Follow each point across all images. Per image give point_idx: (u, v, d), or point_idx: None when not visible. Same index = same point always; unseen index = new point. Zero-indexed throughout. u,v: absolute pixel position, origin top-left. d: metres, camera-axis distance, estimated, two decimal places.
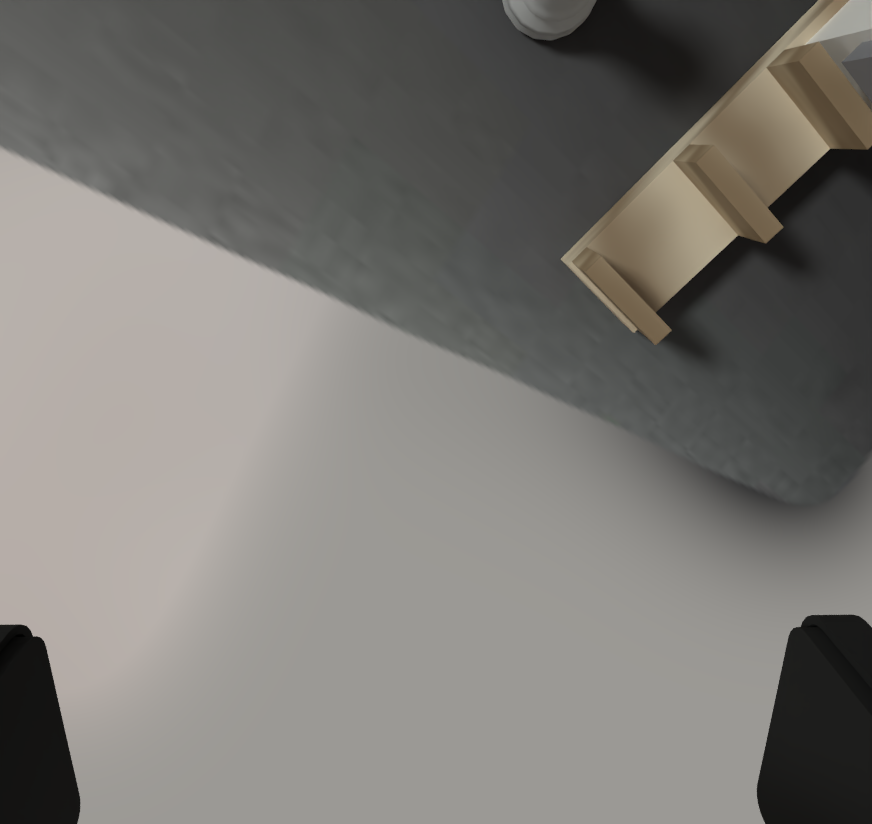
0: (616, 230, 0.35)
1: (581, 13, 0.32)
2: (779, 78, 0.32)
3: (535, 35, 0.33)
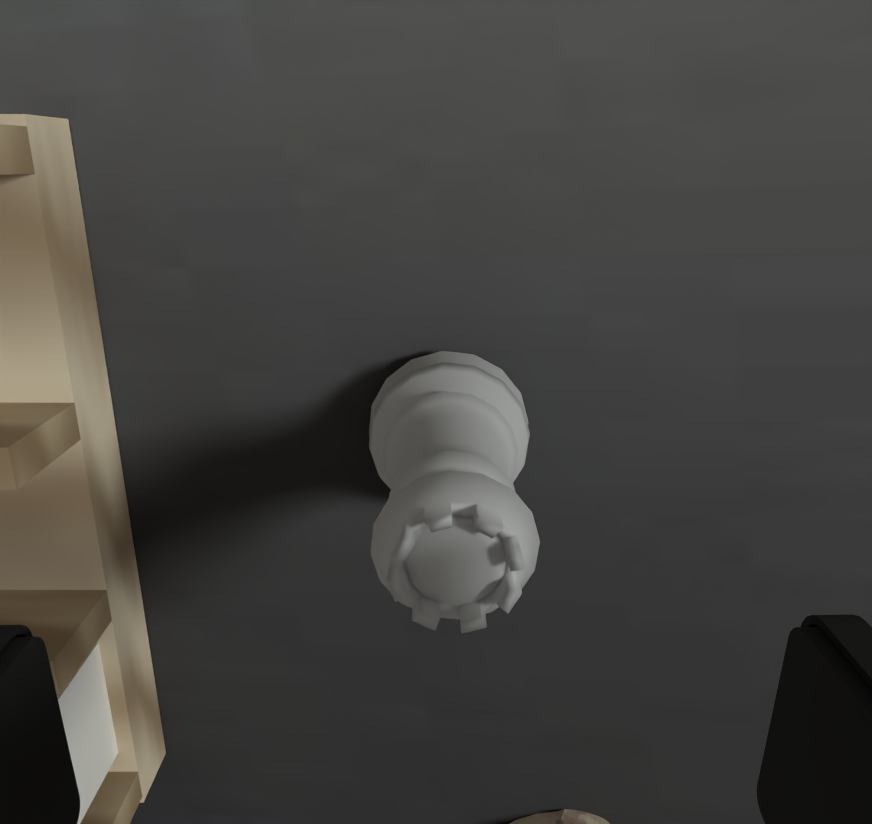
0: (26, 242, 0.17)
1: (379, 445, 0.19)
2: (75, 597, 0.20)
3: (411, 365, 0.19)
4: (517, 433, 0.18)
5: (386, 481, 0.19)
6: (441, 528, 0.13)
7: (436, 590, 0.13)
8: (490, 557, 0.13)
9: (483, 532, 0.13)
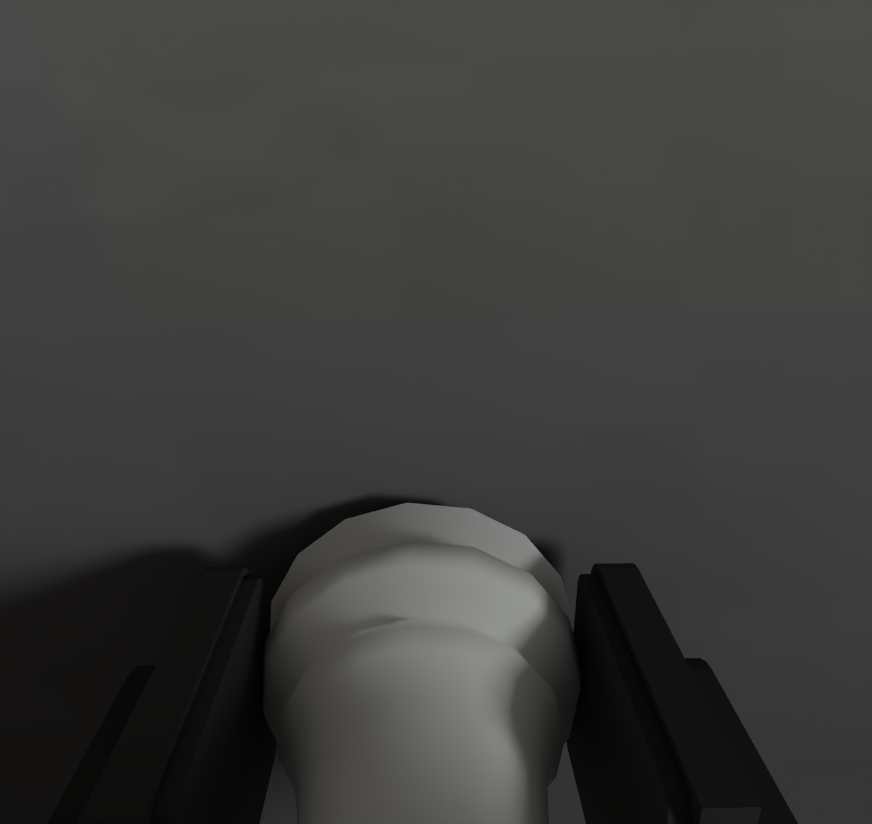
0: None
1: (277, 711, 0.09)
2: None
3: (346, 532, 0.10)
4: (561, 686, 0.09)
5: None
6: None
7: None
8: None
9: None
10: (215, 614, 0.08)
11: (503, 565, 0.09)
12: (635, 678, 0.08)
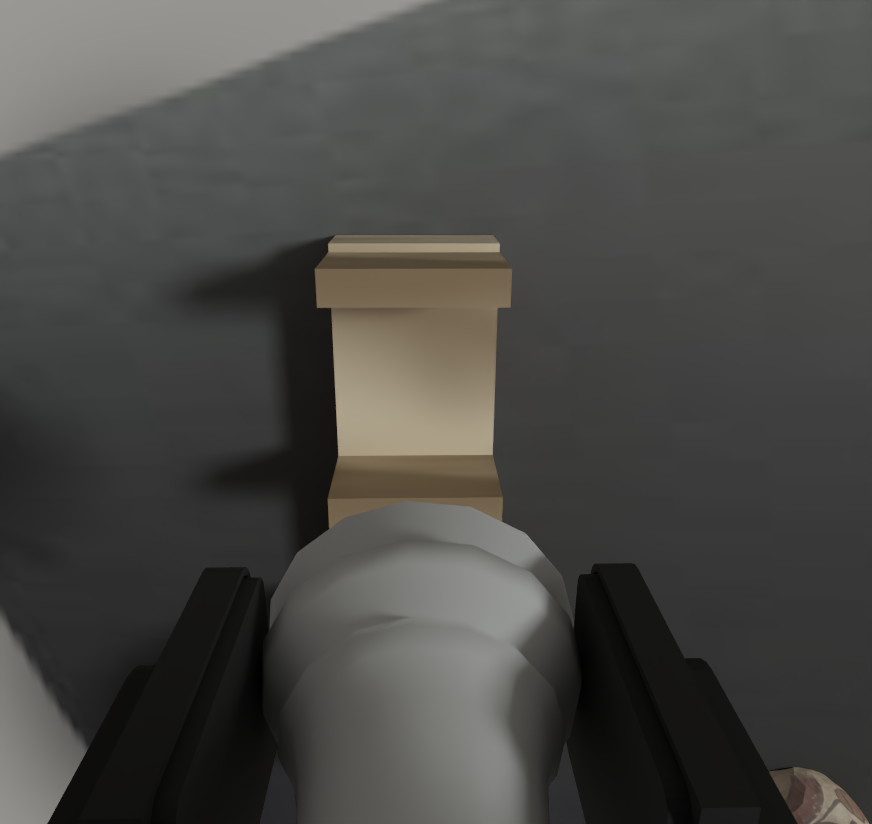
0: (480, 336, 0.22)
1: (276, 710, 0.09)
2: None
3: (345, 530, 0.10)
4: (562, 685, 0.09)
5: None
6: None
7: None
8: None
9: None
10: (215, 614, 0.08)
11: (503, 563, 0.09)
12: (635, 678, 0.08)
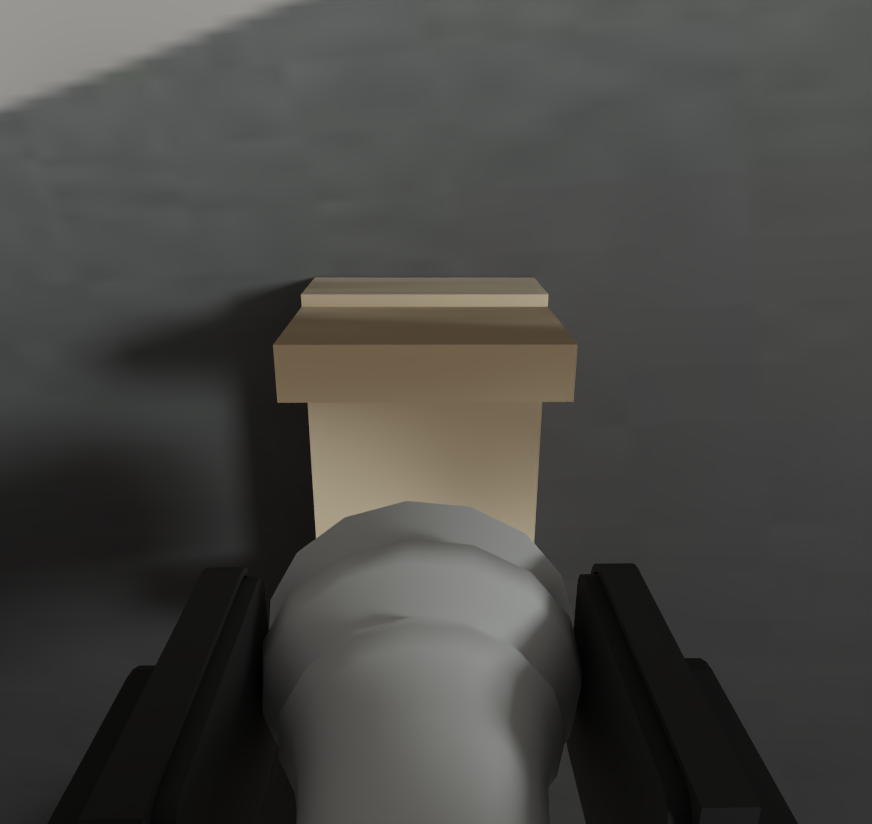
0: (518, 422, 0.16)
1: (276, 711, 0.09)
2: None
3: (345, 530, 0.10)
4: (562, 685, 0.09)
5: None
6: None
7: None
8: None
9: None
10: (215, 614, 0.08)
11: (503, 563, 0.09)
12: (635, 678, 0.08)
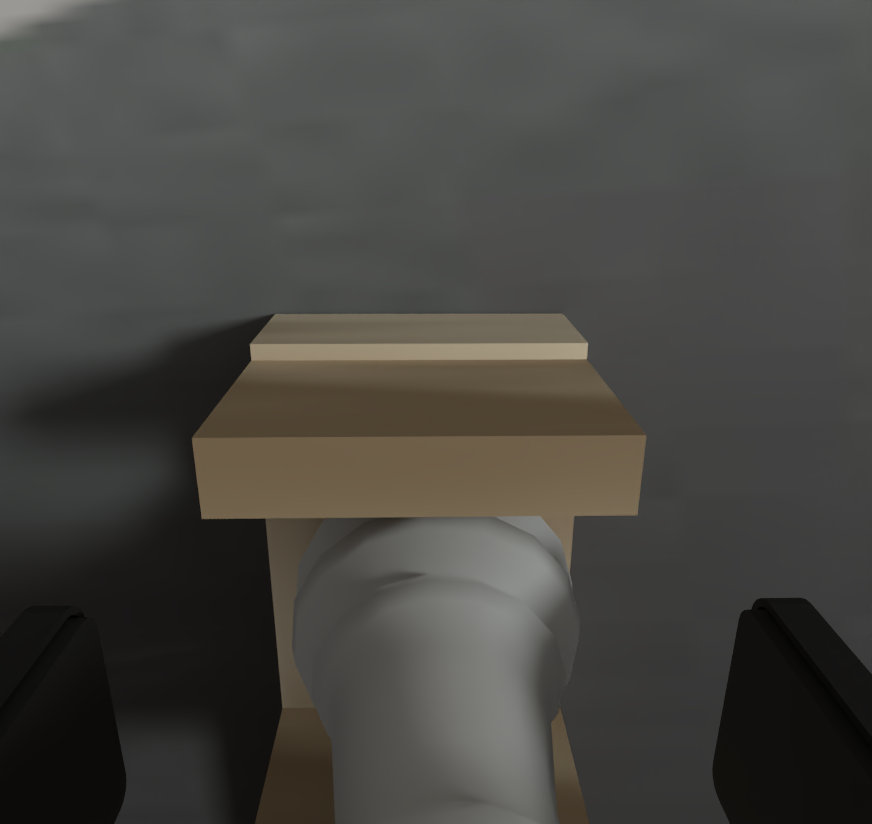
0: None
1: (308, 660, 0.10)
2: None
3: None
4: (562, 634, 0.10)
5: None
6: None
7: None
8: None
9: None
10: (17, 663, 0.08)
11: (509, 527, 0.10)
12: (854, 735, 0.07)
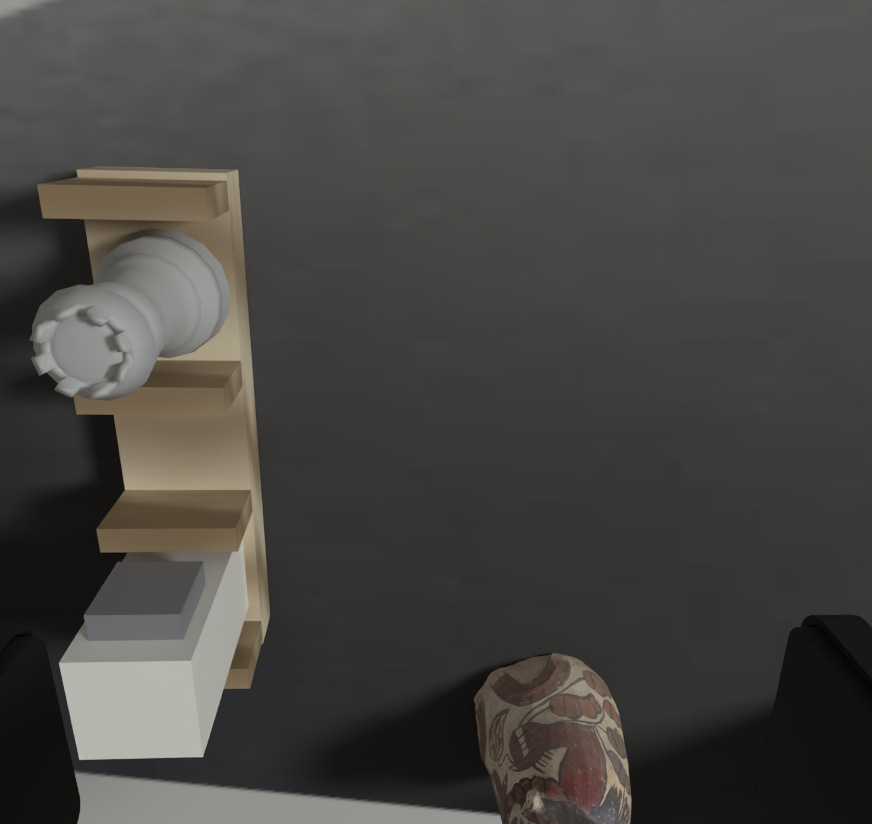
0: (218, 254, 0.26)
1: None
2: (231, 493, 0.29)
3: None
4: (205, 290, 0.24)
5: None
6: (63, 319, 0.18)
7: (73, 370, 0.19)
8: (108, 345, 0.19)
9: (93, 322, 0.18)
10: None
11: (183, 245, 0.24)
12: None
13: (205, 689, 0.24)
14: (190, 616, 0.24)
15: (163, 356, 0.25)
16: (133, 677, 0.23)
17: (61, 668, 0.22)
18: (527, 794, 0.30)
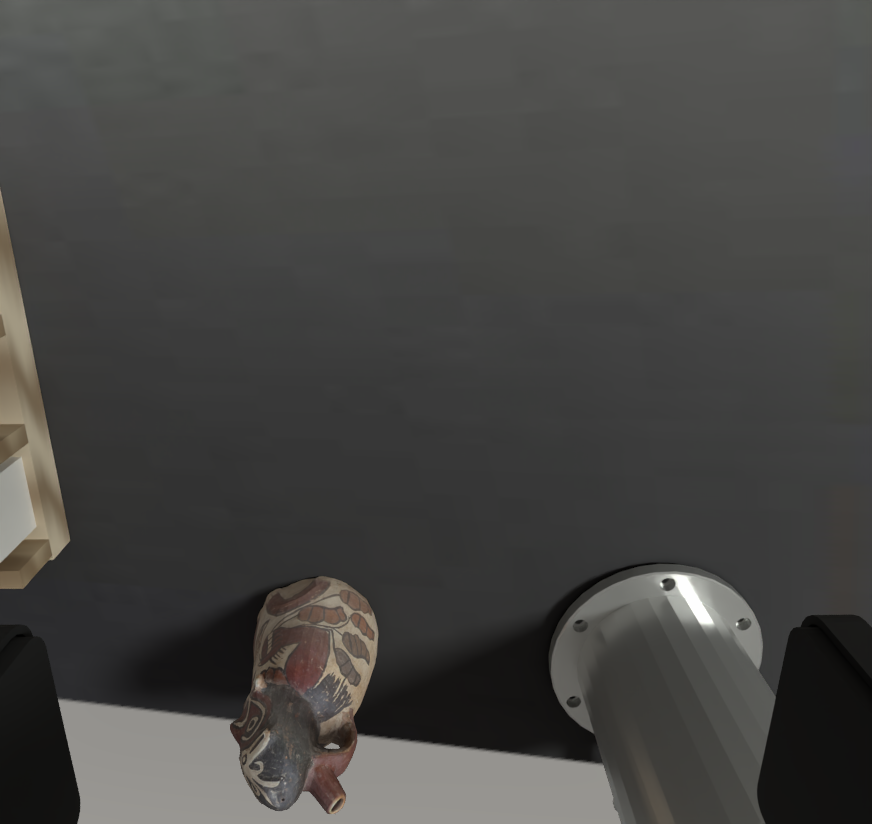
0: None
1: None
2: (6, 426, 0.35)
3: None
4: None
5: None
6: None
7: None
8: None
9: None
10: None
11: None
12: None
13: None
14: None
15: None
16: None
17: None
18: (254, 679, 0.35)
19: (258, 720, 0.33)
